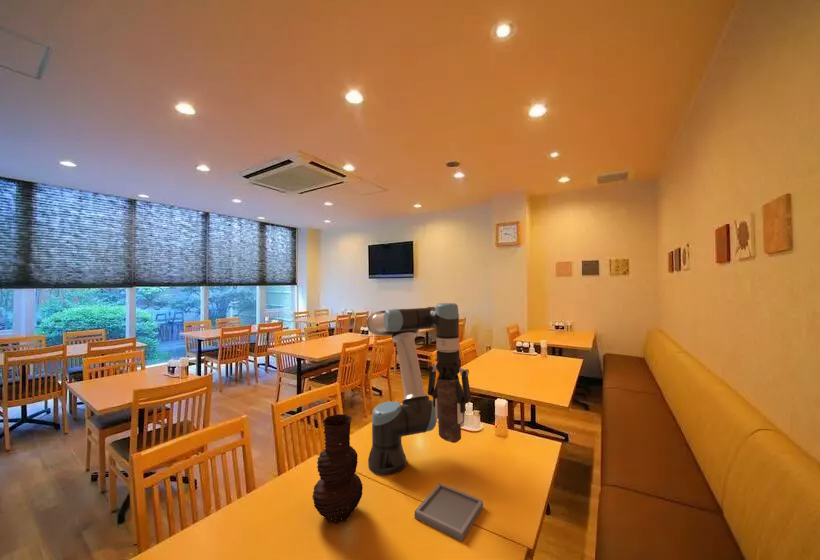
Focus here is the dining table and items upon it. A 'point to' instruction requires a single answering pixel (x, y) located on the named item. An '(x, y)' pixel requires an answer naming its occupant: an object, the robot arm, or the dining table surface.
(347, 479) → the vase
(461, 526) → the tray
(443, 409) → the brown cylinder
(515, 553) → the dining table surface
